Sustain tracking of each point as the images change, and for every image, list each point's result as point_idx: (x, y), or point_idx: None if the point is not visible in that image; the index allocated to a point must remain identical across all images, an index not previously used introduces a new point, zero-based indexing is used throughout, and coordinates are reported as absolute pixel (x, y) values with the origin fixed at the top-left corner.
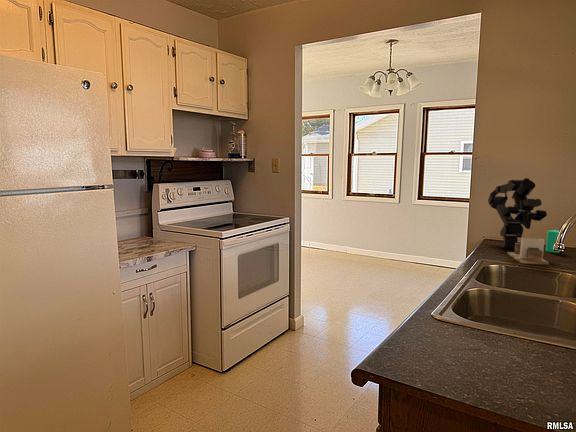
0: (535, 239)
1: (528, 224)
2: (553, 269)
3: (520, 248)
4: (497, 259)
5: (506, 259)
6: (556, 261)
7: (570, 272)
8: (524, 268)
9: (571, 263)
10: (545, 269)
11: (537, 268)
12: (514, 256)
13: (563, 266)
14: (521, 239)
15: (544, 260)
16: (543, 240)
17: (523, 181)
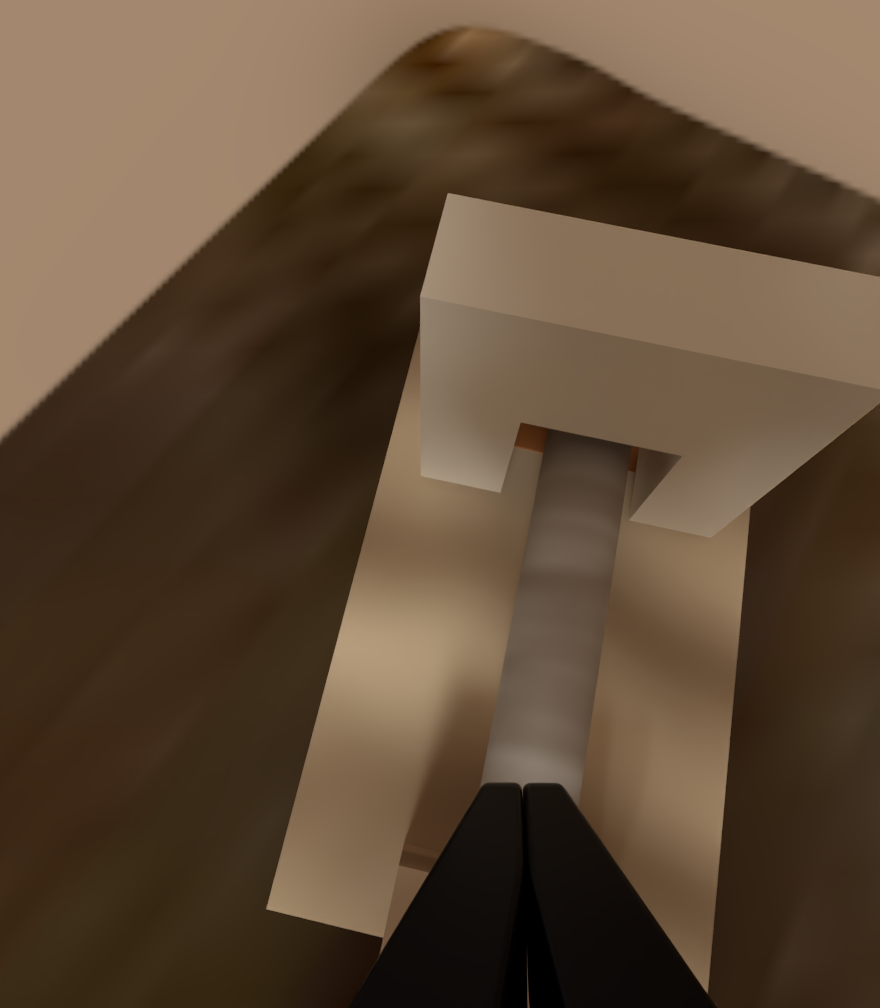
0: (637, 230)
1: (543, 889)
2: (510, 150)
3: (773, 481)
4: None
5: (871, 582)
6: (173, 491)
7: (404, 60)
8: (824, 179)
9: (47, 393)
10: (603, 149)
11: (672, 181)
12: (737, 638)
13: (289, 259)
14: (871, 396)
15: (410, 405)
16: (470, 207)
17: None
